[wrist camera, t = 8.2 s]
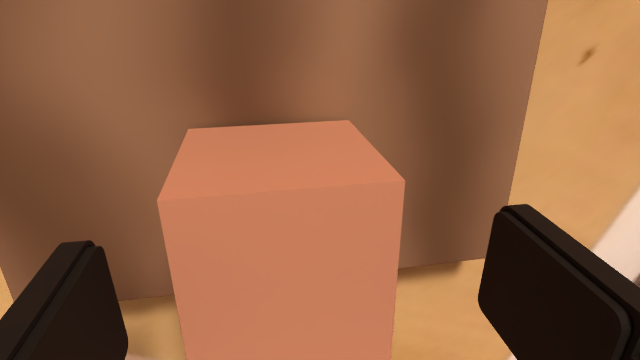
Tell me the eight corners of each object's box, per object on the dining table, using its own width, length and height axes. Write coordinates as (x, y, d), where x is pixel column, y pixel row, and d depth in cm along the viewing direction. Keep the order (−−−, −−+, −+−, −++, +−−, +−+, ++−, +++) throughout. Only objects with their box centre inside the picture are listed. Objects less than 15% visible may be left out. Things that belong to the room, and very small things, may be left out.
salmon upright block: (348, 120, 13) (405, 180, 8) (345, 273, 15) (388, 384, 11) (188, 128, 12) (157, 200, 8) (211, 289, 15) (197, 415, 10)
